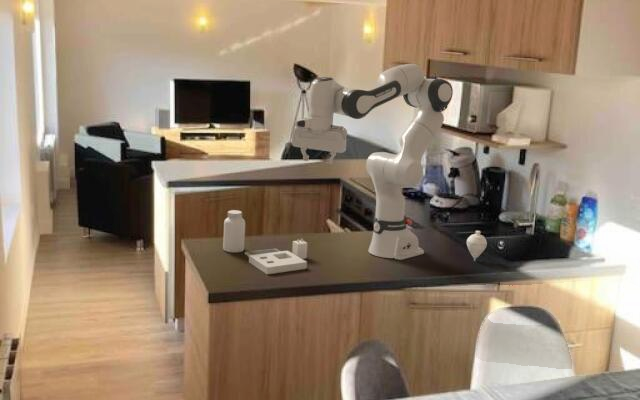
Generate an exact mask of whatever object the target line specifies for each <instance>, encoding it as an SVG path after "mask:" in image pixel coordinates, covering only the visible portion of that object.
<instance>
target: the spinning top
mask: <svg viewBox="0 0 640 400" xmlns="http://www.w3.org/2000/svg"><path fill="white" fill-rule="evenodd" d="M481 233H482V232H481V230H475V233H473V234H471V235H469V236H468V237H467V239H466V246H467V249H468V251H469V253H470V254H471V256H472V258H473V261H474V262H475V261H476V259H477V258H478V257H480V255H481V254H482V253H483V252H484V251H485V249H486V248H487V246H488V245H487V244H488V242H487V239H486V237H485V236H484V235H482V234H481Z"/></svg>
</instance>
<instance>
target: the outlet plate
mask: <svg viewBox="0 0 640 400" xmlns="http://www.w3.org/2000/svg"><path fill="white" fill-rule="evenodd" d="M279 251H280V252H272V253H264V254H257V255H249V257H248V263H249V264H251V265H252V266H254V267H255V268H257V270H258V269H259V270H260V272H263V273H264V274H266V275H272V274H279V273H285V272H286V273H287V272H293V271H298V270H305V269H308V268H307V267H308V266H307V265H308V261H307V260H305V259H301V258H300V257H298V256H296V255H294V254H293V253H292V251H290V250H283V251H282V250H279Z"/></svg>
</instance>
